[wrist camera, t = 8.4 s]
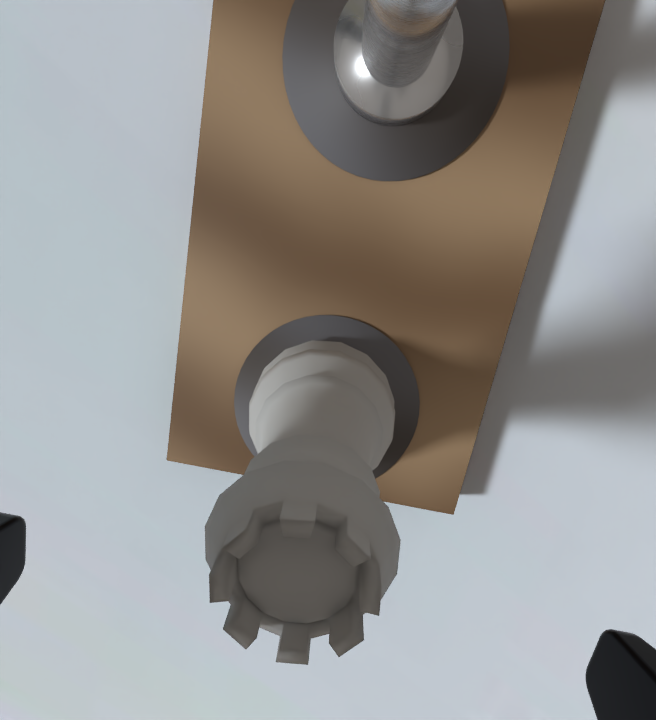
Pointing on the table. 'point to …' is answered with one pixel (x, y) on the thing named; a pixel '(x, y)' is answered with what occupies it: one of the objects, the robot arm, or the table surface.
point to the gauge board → (368, 225)
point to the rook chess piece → (308, 505)
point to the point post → (396, 57)
